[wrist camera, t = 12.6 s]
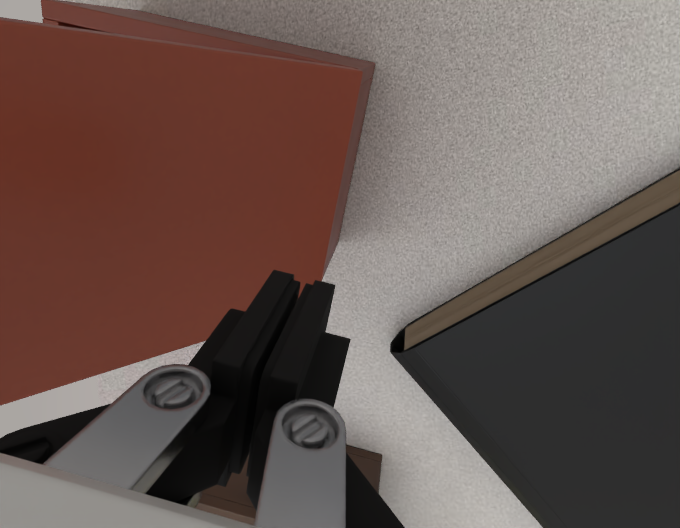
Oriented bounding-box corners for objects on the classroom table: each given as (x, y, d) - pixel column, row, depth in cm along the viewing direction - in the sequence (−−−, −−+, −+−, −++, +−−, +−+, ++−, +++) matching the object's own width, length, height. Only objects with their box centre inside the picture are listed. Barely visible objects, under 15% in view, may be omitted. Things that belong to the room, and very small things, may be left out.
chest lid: (-75, 412, 14) (-71, 429, 14) (-201, -12, 9) (-204, -9, 9) (307, 298, 24) (317, 305, 24) (351, 67, 19) (364, 71, 19)
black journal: (1011, 561, 29) (625, 634, 38) (946, 502, 32) (608, 583, 42) (807, 139, 21) (387, 365, 31) (751, 124, 25) (392, 330, 34)
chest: (139, 193, 32) (61, 233, 26) (137, 10, 27) (39, -3, 20) (338, 242, 32) (314, 297, 25) (376, 62, 26) (359, 68, 19)
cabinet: (222, 498, 45) (181, 589, 38) (231, 413, 40) (186, 499, 33) (354, 536, 45) (340, 637, 37) (382, 454, 39) (372, 553, 32)
